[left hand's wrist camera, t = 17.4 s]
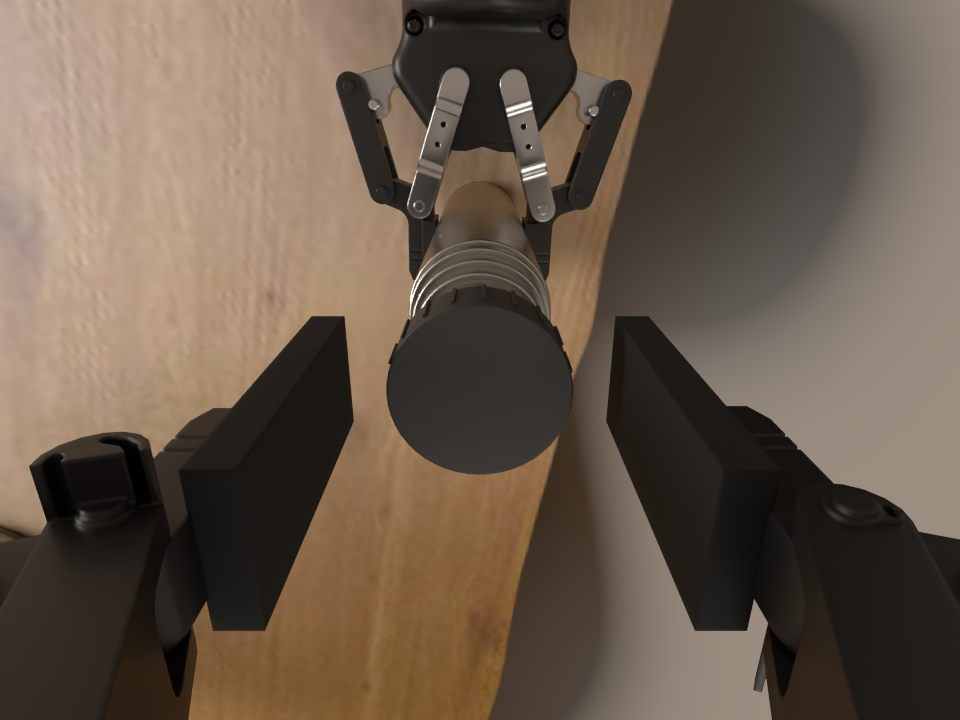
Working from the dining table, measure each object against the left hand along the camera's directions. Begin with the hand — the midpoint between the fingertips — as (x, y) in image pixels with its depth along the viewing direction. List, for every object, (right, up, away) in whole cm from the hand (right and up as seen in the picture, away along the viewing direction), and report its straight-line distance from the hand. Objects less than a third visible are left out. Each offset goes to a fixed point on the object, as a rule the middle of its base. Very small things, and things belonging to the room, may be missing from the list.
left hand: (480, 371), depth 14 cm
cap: (0, 0, -1) cm, 1 cm away
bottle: (0, +9, +22) cm, 24 cm away
